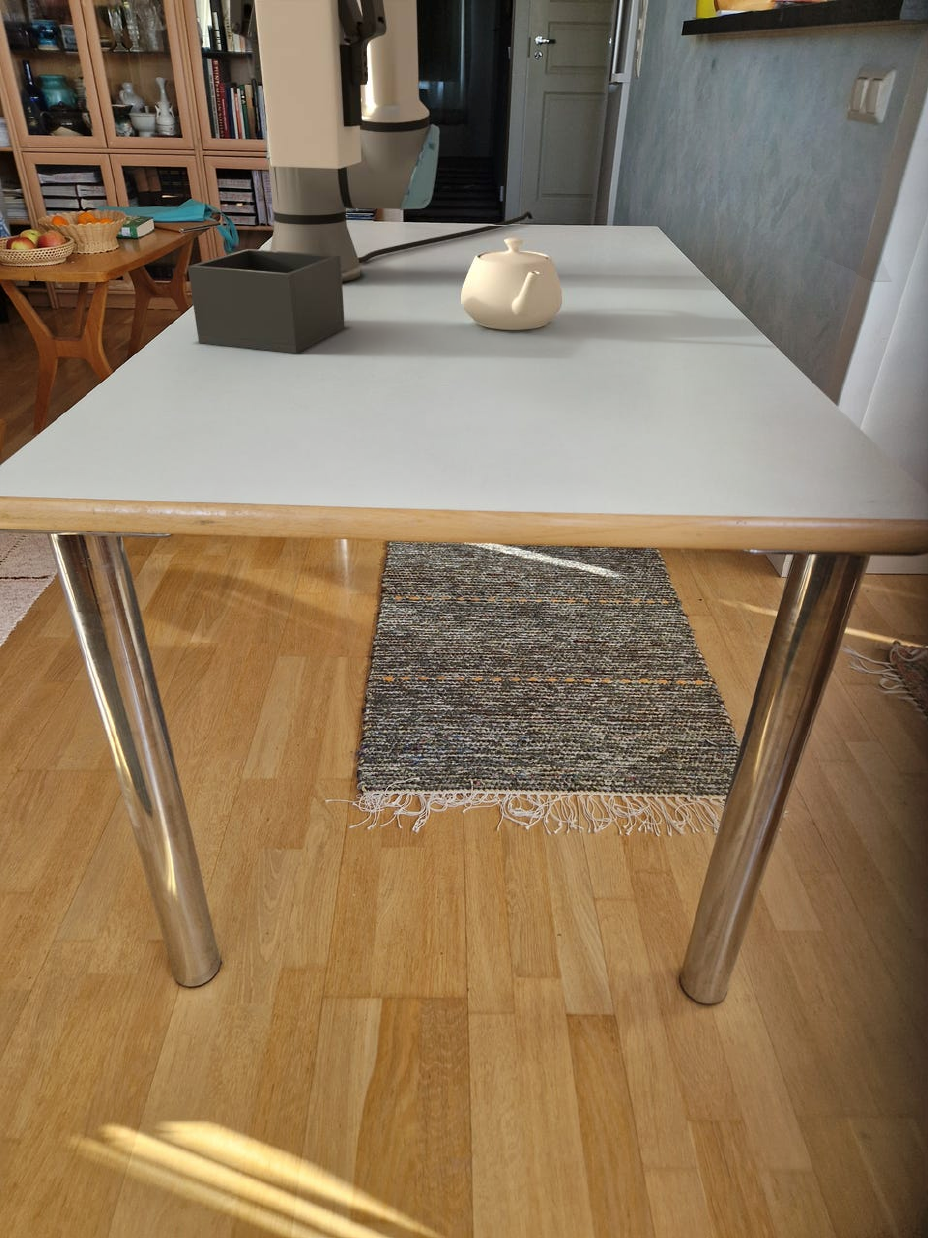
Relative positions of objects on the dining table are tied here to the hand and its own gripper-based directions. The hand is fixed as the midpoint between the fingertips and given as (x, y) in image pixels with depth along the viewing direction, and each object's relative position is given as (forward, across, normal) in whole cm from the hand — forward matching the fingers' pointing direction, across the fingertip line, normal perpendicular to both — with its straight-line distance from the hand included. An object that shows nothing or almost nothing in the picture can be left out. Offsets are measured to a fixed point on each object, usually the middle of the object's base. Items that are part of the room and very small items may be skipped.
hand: (314, 123), depth 84 cm
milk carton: (+4, 0, 0) cm, 4 cm away
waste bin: (+25, -14, +12) cm, 31 cm away
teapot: (+25, +13, +29) cm, 40 cm away
